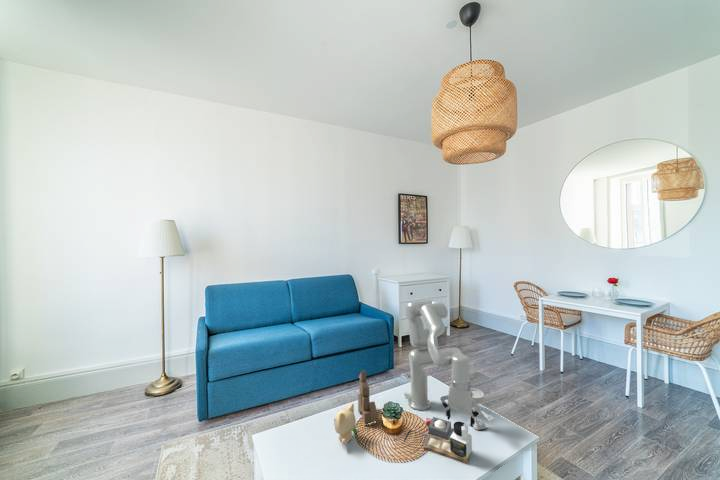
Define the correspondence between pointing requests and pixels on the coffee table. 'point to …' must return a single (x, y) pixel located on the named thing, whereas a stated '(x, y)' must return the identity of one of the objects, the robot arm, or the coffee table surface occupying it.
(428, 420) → the red die
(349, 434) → the kitten
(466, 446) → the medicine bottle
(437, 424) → the dome
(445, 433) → the dome housing
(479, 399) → the cartoon character
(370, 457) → the coffee table surface
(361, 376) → the wooden toy
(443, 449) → the board
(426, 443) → the frame
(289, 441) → the coffee table surface
